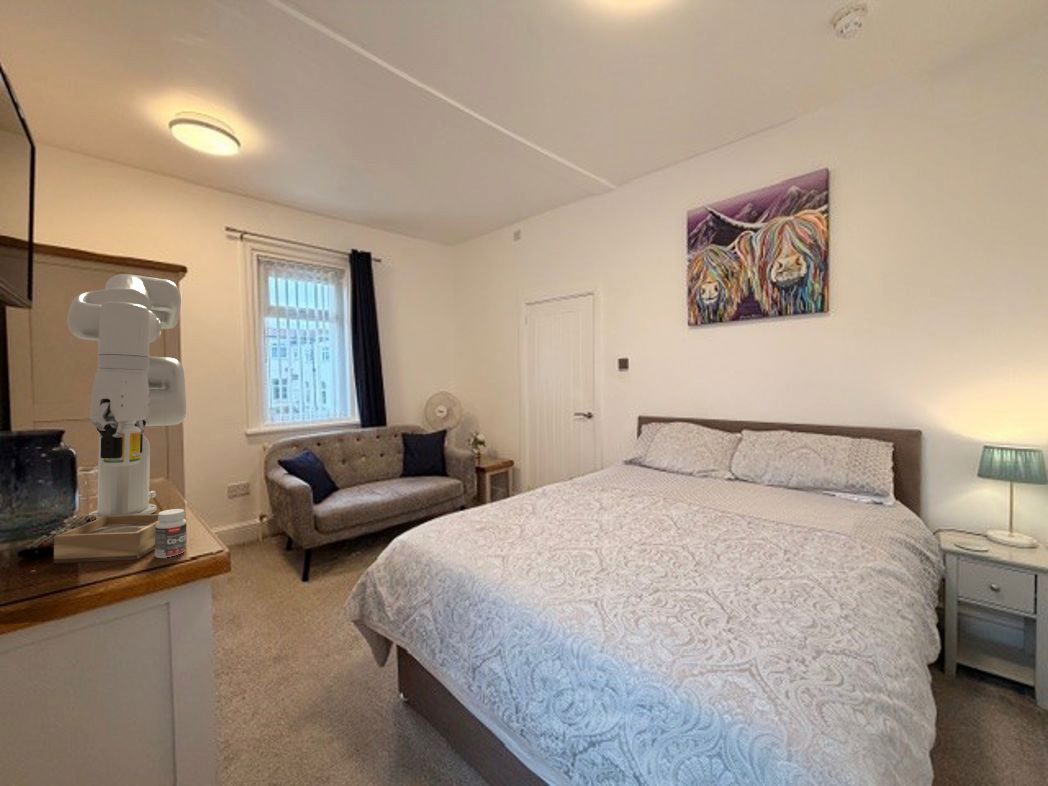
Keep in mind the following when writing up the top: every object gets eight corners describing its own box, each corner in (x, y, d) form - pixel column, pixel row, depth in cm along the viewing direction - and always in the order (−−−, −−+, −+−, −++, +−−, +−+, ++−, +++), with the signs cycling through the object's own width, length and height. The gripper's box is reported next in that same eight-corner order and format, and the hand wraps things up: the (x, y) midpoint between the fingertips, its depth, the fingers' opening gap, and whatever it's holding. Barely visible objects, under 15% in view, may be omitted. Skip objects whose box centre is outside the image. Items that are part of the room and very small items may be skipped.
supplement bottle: (107, 467, 83) (108, 417, 83) (99, 464, 86) (100, 416, 86) (143, 464, 88) (144, 416, 88) (135, 461, 91) (135, 415, 91)
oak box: (104, 539, 92) (105, 515, 92) (175, 536, 95) (176, 513, 95) (53, 563, 79) (54, 536, 79) (137, 559, 82) (137, 533, 82)
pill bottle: (168, 560, 82) (169, 516, 82) (148, 557, 83) (149, 514, 83) (192, 551, 87) (192, 509, 87) (172, 548, 88) (173, 507, 88)
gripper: (130, 366, 94) (128, 450, 94) (67, 361, 78) (65, 463, 78) (170, 367, 96) (168, 449, 96) (116, 363, 79) (114, 462, 79)
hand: (122, 454), depth 87 cm, fingers closed on supplement bottle, 5 cm apart
